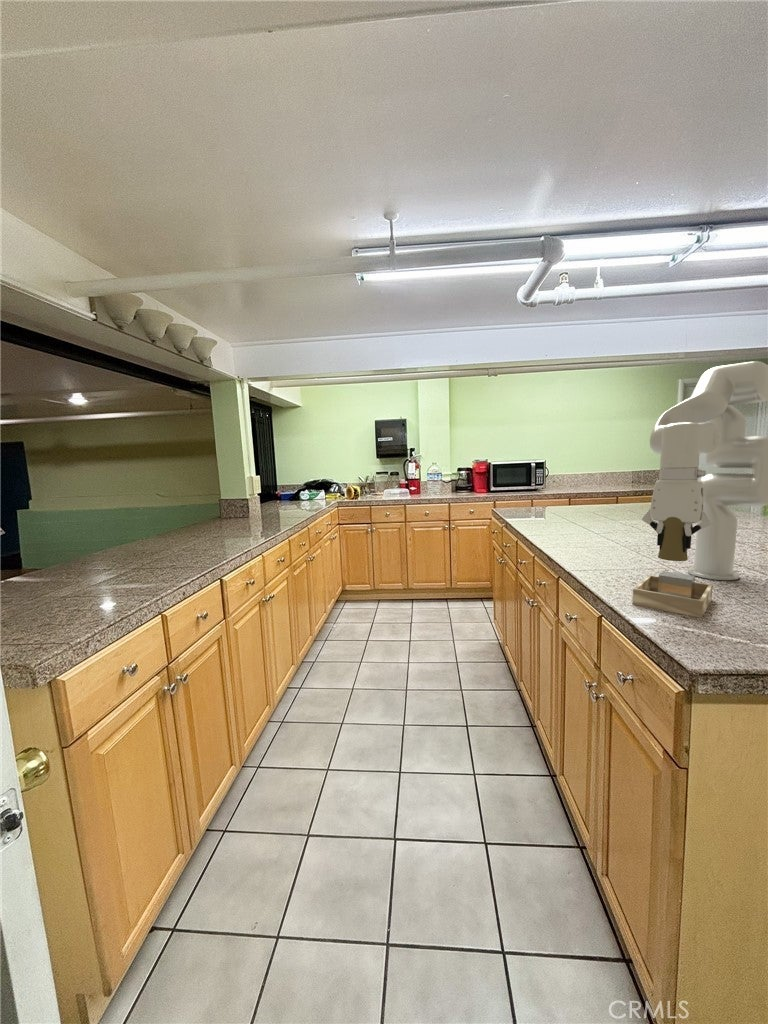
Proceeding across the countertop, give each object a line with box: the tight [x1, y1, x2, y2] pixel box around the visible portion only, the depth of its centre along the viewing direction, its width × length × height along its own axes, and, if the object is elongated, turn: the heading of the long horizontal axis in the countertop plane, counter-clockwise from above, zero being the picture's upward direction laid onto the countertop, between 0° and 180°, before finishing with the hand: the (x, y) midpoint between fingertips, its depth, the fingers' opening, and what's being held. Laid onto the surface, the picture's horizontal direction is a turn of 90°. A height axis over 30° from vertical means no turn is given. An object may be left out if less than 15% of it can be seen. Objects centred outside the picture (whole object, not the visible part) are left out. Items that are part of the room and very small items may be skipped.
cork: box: [657, 517, 689, 562], centre depth 100 cm, size 6×6×11 cm
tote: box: [632, 574, 714, 619], centre depth 104 cm, size 16×14×4 cm
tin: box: [658, 570, 696, 599], centre depth 107 cm, size 5×7×6 cm
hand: (673, 549), depth 101 cm, fingers closed on cork, 3 cm apart
